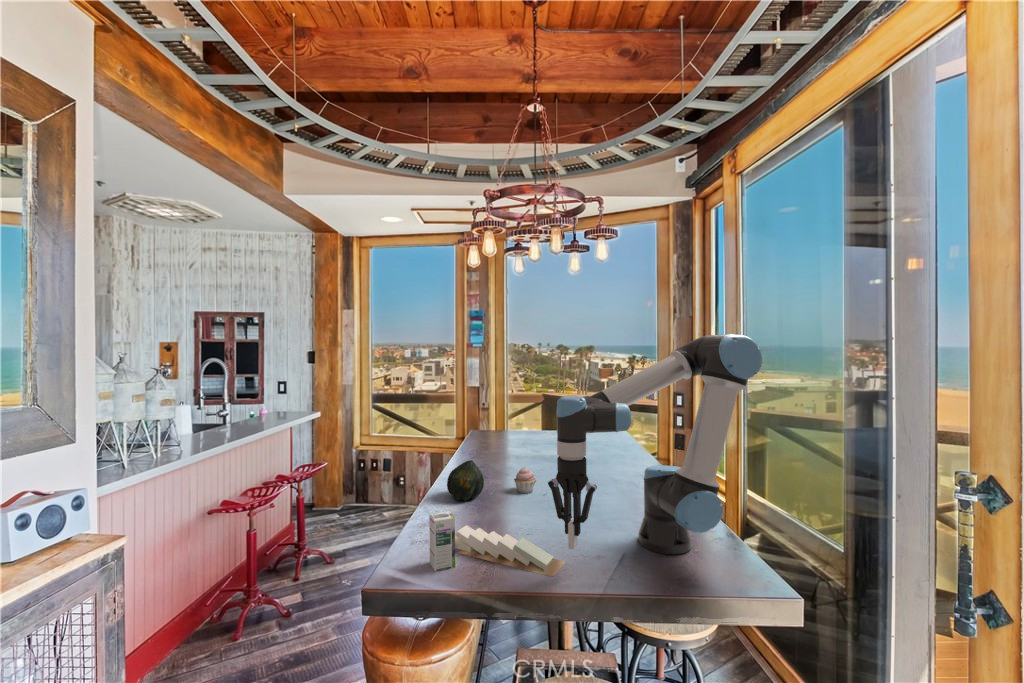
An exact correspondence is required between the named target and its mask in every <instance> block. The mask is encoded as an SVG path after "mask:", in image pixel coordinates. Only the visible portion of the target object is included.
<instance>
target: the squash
mask: <svg viewBox="0 0 1024 683" xmlns="http://www.w3.org/2000/svg"><path fill="white" fill-rule="evenodd" d="M484 483H485V480H484V474H483V473H482V471H481V470H480V468H479V467H478V466H477V465H476V463H475V462H474V461H473V460H472V459H471V460H466V461H464V462H462V463H461V464H459V465H457V466H456V467H455V468H453V469H452V470H451V471H450V473H449V475H448V476H447V481H446V487H447V491H448V494H450V495H451V496H452V498H453V499H454V500H455V501H459V502H460V501H462V500H463V501H468V500H470V499H474V498H477V497H478V496H479V495H480V494H481V493H482V492H483V490H484V486H485V484H484Z"/></svg>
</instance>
